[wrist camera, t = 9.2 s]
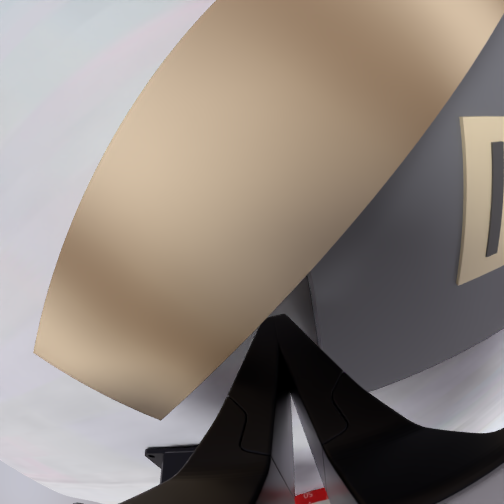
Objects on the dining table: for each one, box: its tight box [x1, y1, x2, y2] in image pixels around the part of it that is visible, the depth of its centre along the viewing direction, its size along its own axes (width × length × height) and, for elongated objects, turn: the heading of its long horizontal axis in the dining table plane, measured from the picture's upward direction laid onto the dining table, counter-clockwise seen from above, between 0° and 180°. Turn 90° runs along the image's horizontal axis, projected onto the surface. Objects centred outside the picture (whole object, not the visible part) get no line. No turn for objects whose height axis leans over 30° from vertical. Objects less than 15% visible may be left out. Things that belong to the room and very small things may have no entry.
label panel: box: [307, 14, 504, 392], centre depth 8 cm, size 23×17×1 cm
